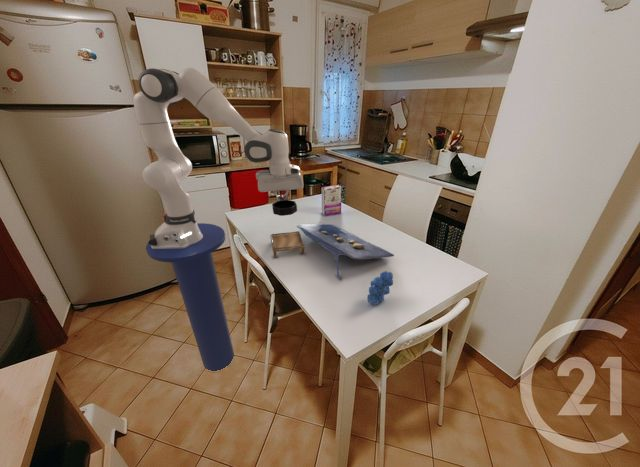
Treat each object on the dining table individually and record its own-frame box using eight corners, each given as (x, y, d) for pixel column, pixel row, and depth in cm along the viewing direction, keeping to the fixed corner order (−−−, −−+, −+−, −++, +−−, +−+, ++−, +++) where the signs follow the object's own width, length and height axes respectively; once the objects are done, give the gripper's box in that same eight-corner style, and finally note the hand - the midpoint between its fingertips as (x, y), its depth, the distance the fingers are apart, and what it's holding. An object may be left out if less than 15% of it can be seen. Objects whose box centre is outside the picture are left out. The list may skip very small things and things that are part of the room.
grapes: (380, 288, 97) (383, 261, 91) (394, 298, 92) (400, 270, 87) (358, 301, 91) (360, 273, 85) (372, 313, 86) (376, 284, 80)
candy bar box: (337, 210, 163) (338, 184, 155) (341, 213, 159) (342, 187, 151) (321, 212, 159) (321, 186, 151) (324, 216, 155) (324, 189, 147)
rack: (273, 258, 114) (272, 248, 112) (270, 243, 126) (270, 234, 124) (305, 254, 117) (304, 245, 115) (299, 239, 129) (299, 230, 127)
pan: (274, 216, 107) (273, 210, 106) (270, 201, 123) (269, 194, 122) (298, 213, 110) (297, 207, 108) (291, 198, 125) (291, 192, 124)
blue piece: (287, 243, 131) (291, 221, 128) (329, 241, 148) (333, 221, 145) (348, 284, 98) (355, 256, 95) (392, 276, 115) (399, 251, 112)
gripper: (255, 172, 109) (259, 203, 116) (303, 169, 114) (304, 199, 120) (255, 168, 115) (258, 198, 121) (301, 166, 119) (302, 195, 125)
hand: (281, 199), depth 121 cm, fingers closed on pan, 2 cm apart
